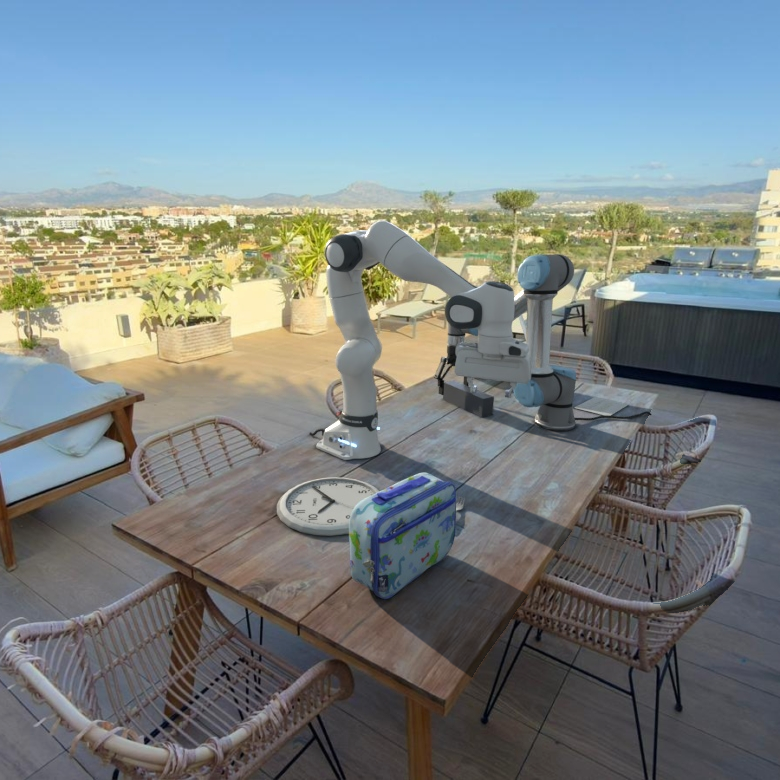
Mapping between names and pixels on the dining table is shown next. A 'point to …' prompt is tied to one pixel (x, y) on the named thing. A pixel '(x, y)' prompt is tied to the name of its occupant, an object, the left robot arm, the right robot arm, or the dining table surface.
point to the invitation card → (601, 406)
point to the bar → (468, 398)
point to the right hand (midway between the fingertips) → (453, 392)
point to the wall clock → (323, 505)
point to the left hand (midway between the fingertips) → (490, 394)
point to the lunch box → (401, 532)
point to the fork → (459, 506)
